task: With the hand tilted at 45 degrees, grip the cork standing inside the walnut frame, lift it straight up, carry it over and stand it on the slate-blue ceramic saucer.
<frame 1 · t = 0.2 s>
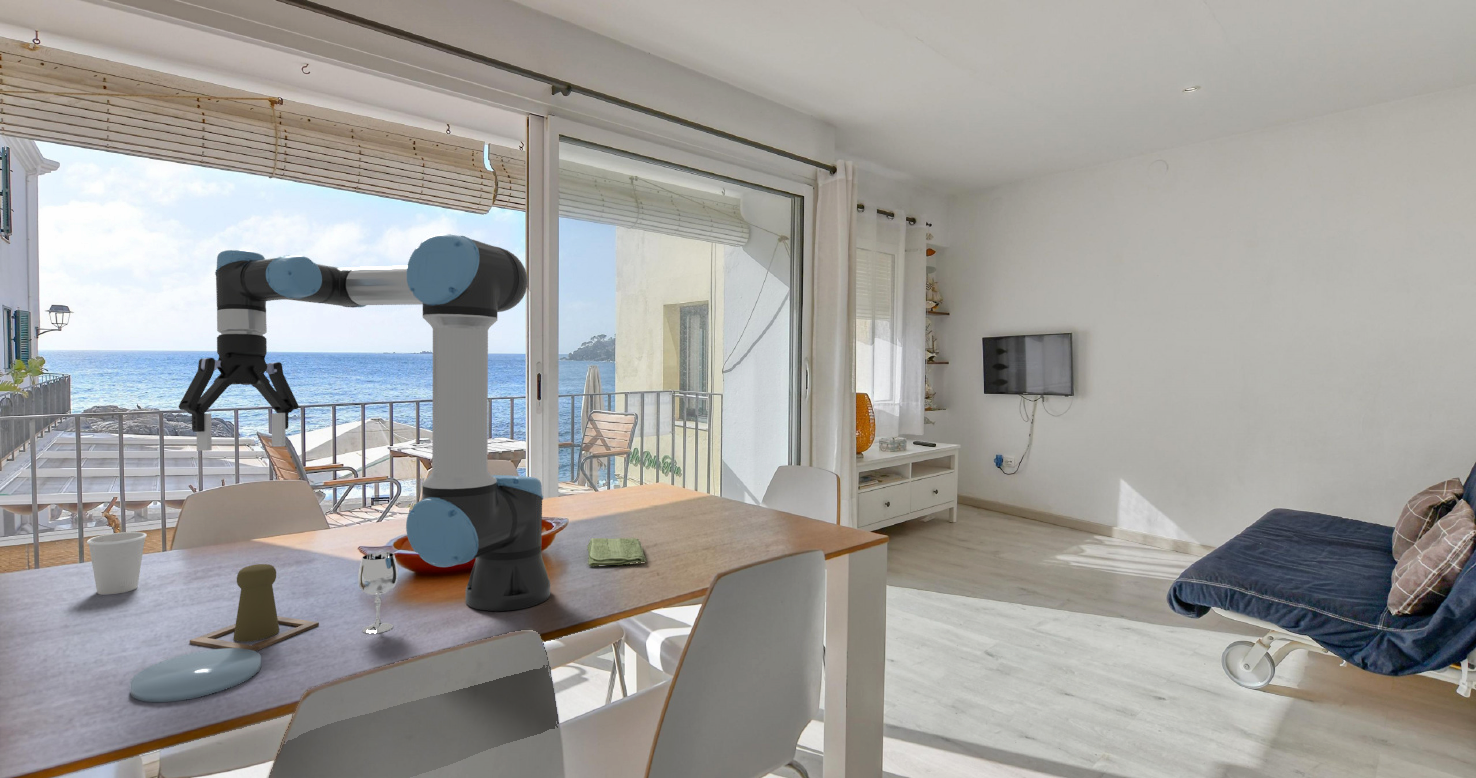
hand: (243, 448, 127), 27 cm above the table, tool pointing down, fingers open, 13 cm apart
walnut frame: (256, 633, 109), on the table
wineglass: (377, 629, 112), on the table
washcloth: (615, 559, 159), on the table
saucer: (198, 677, 94), on the table
dixie cup: (117, 590, 129), on the table
cork: (256, 635, 109), resting in walnut frame
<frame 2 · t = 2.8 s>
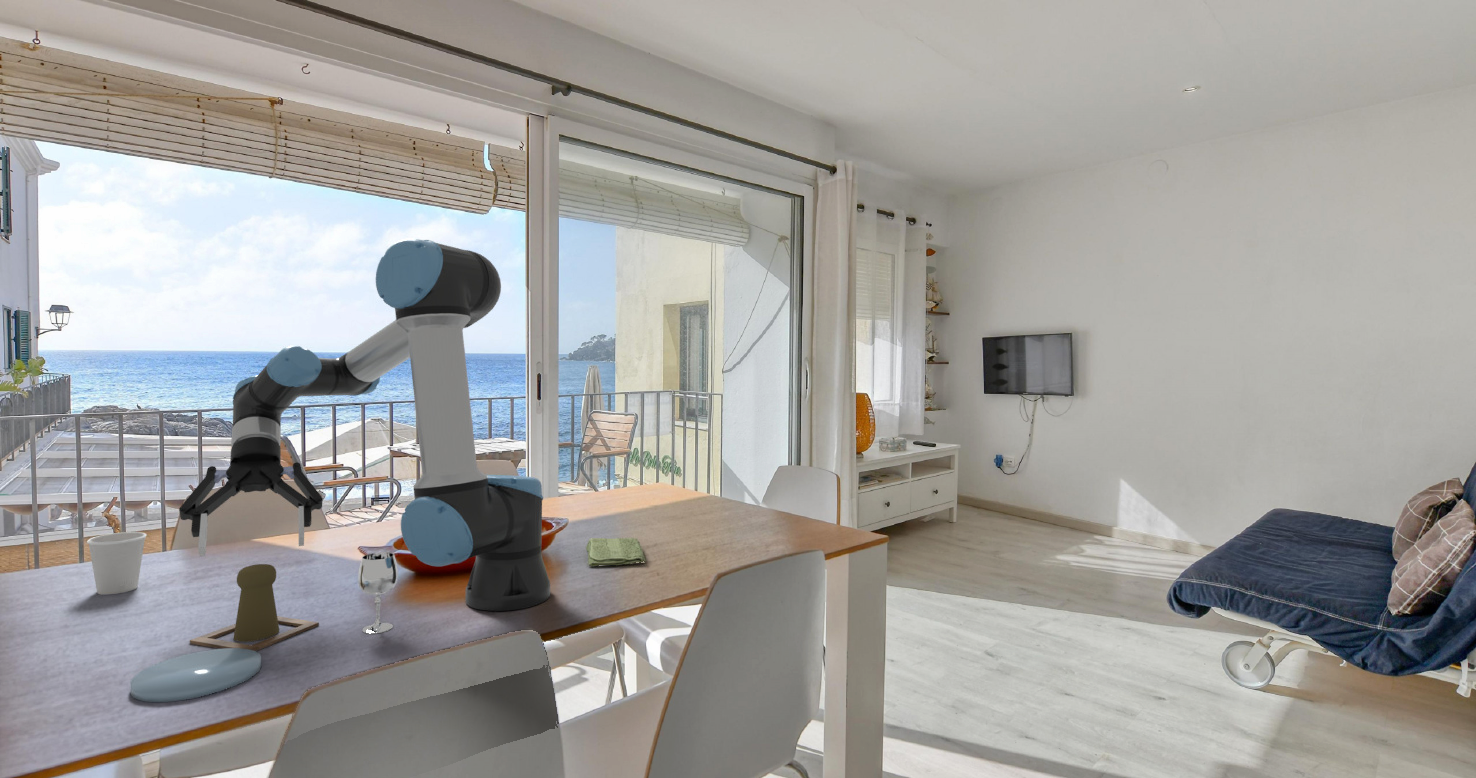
hand: (253, 546, 115), 12 cm above the table, tool tilted 45°, fingers open, 13 cm apart
nothing on the table moved.
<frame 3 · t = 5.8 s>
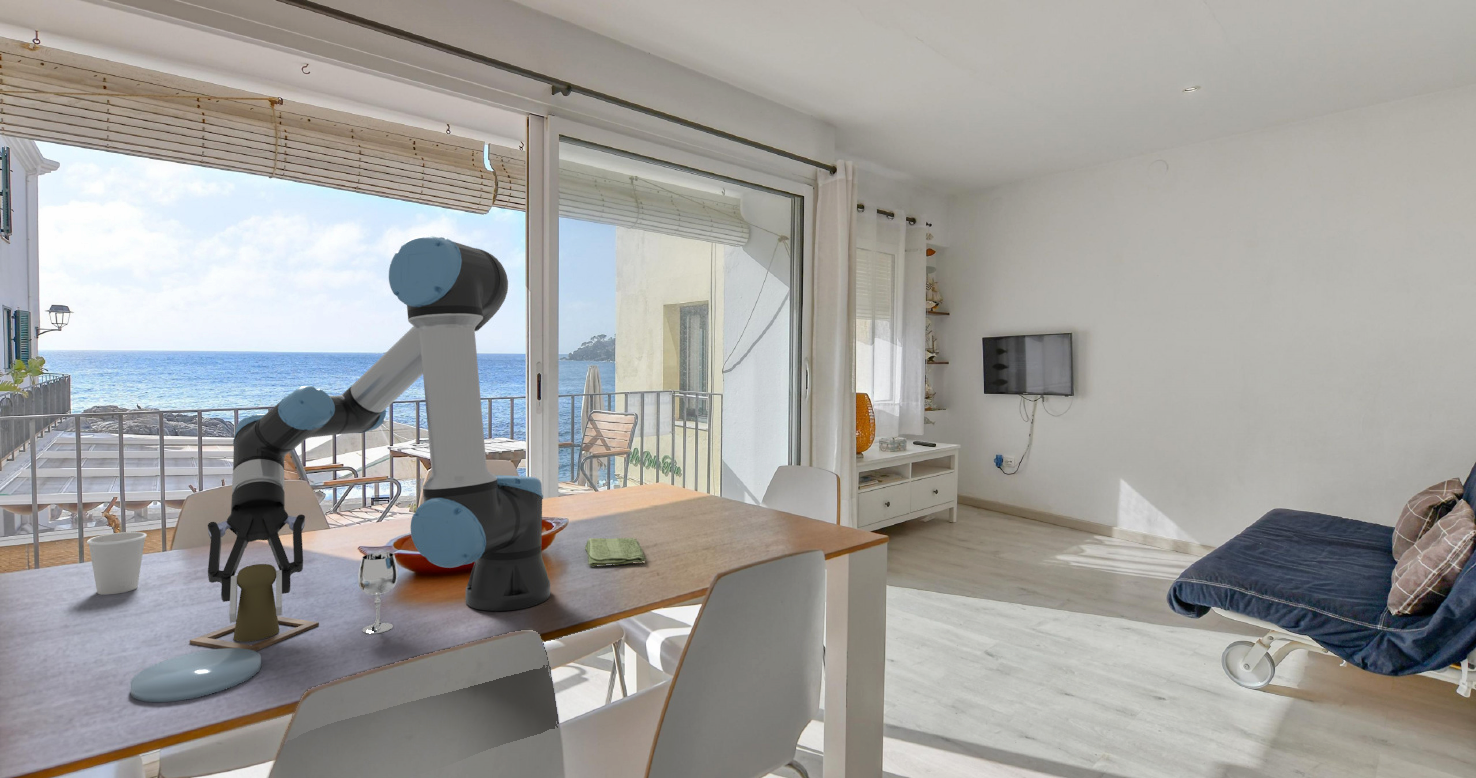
hand: (256, 614, 106), 4 cm above the table, tool tilted 45°, fingers closed on cork, 5 cm apart
cork: (256, 635, 109), resting in walnut frame, touching gripper
everything else where it was.
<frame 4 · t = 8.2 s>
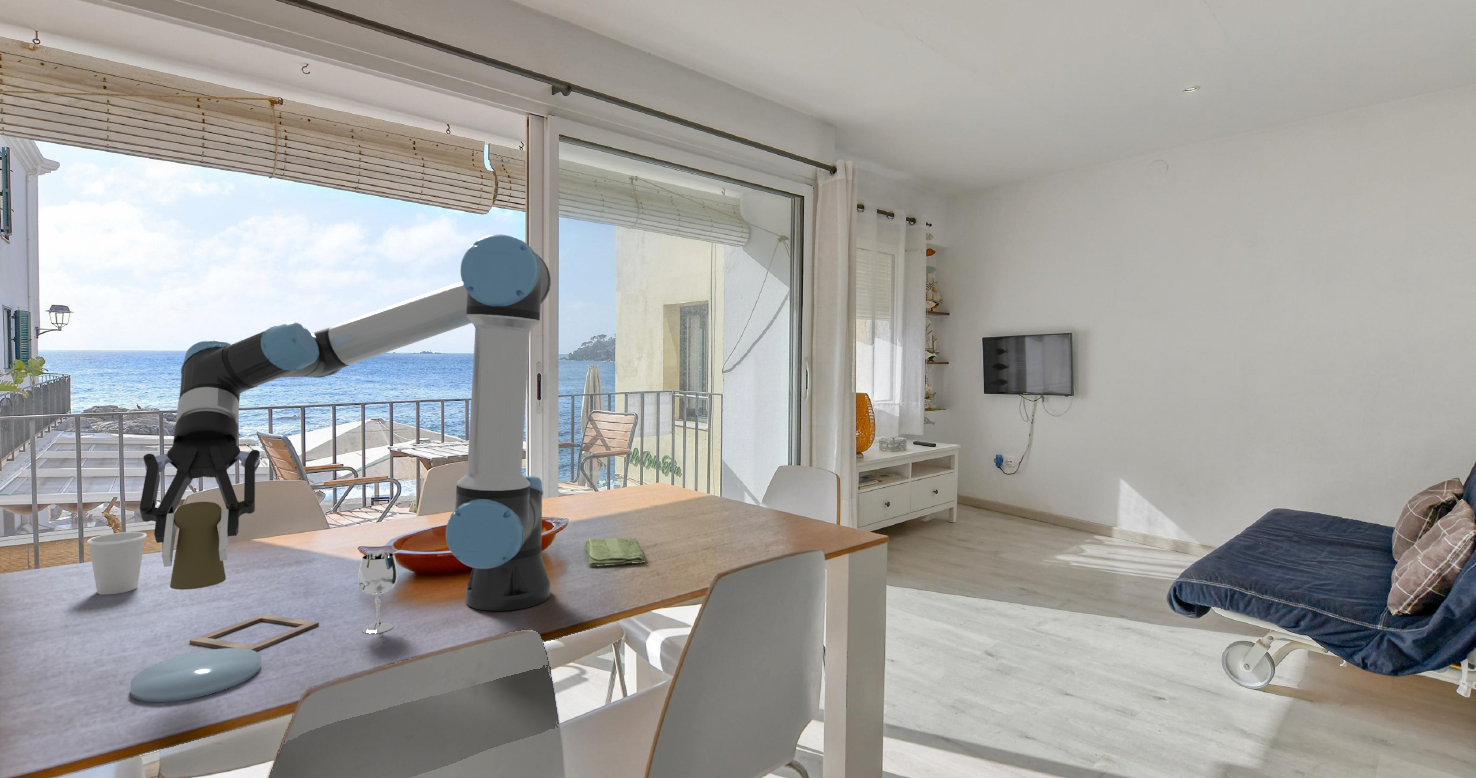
hand: (195, 557, 91), 17 cm above the table, tool tilted 45°, fingers closed on cork, 5 cm apart
cork: (198, 583, 94), point 13 cm above the table, touching gripper
everything else where it was.
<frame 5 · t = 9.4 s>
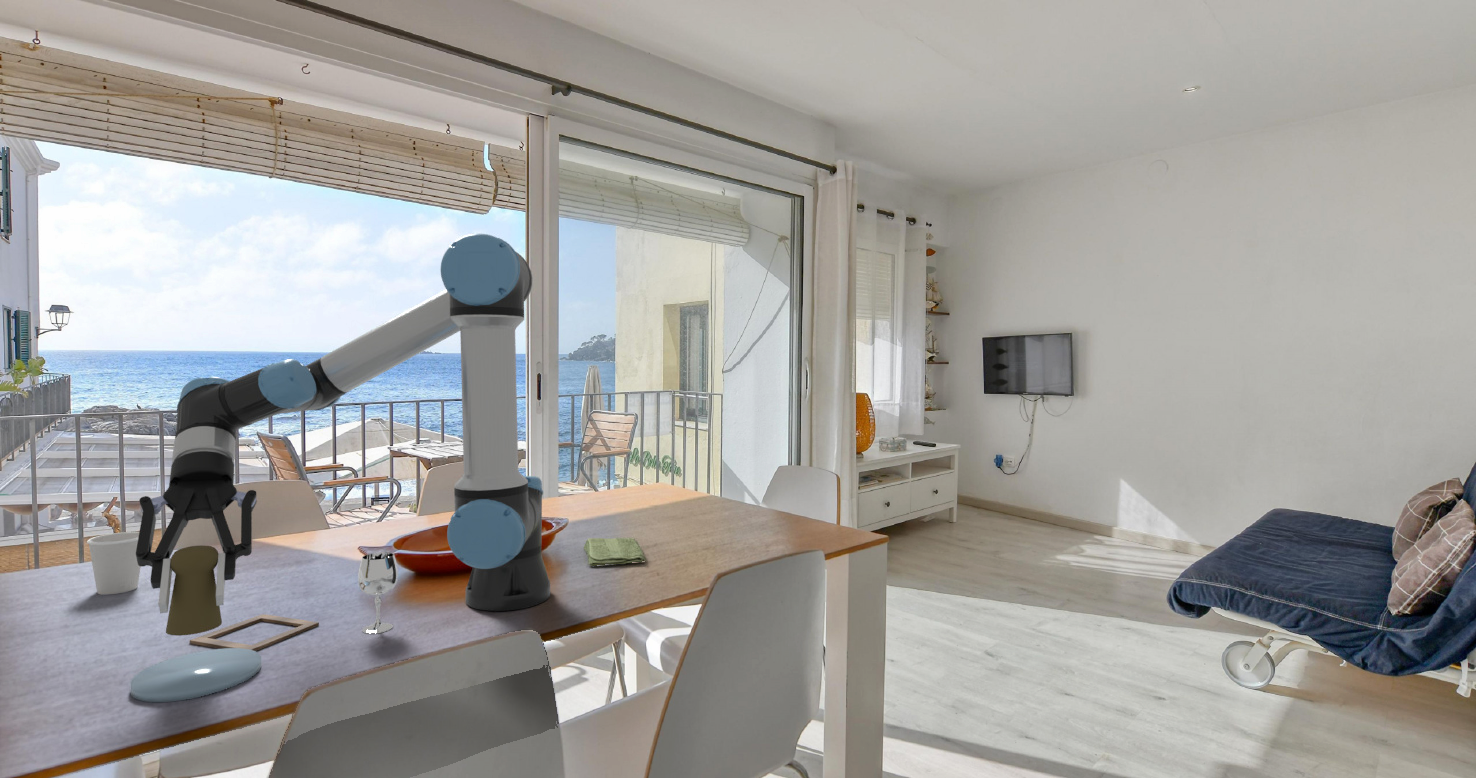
hand: (191, 603, 90), 11 cm above the table, tool tilted 45°, fingers closed on cork, 5 cm apart
cork: (194, 628, 94), point 7 cm above the table, touching gripper
everything else where it was.
when the fingers open (6 cm above the table, at t = 10.6 s): cork stays where it is, resting on saucer.
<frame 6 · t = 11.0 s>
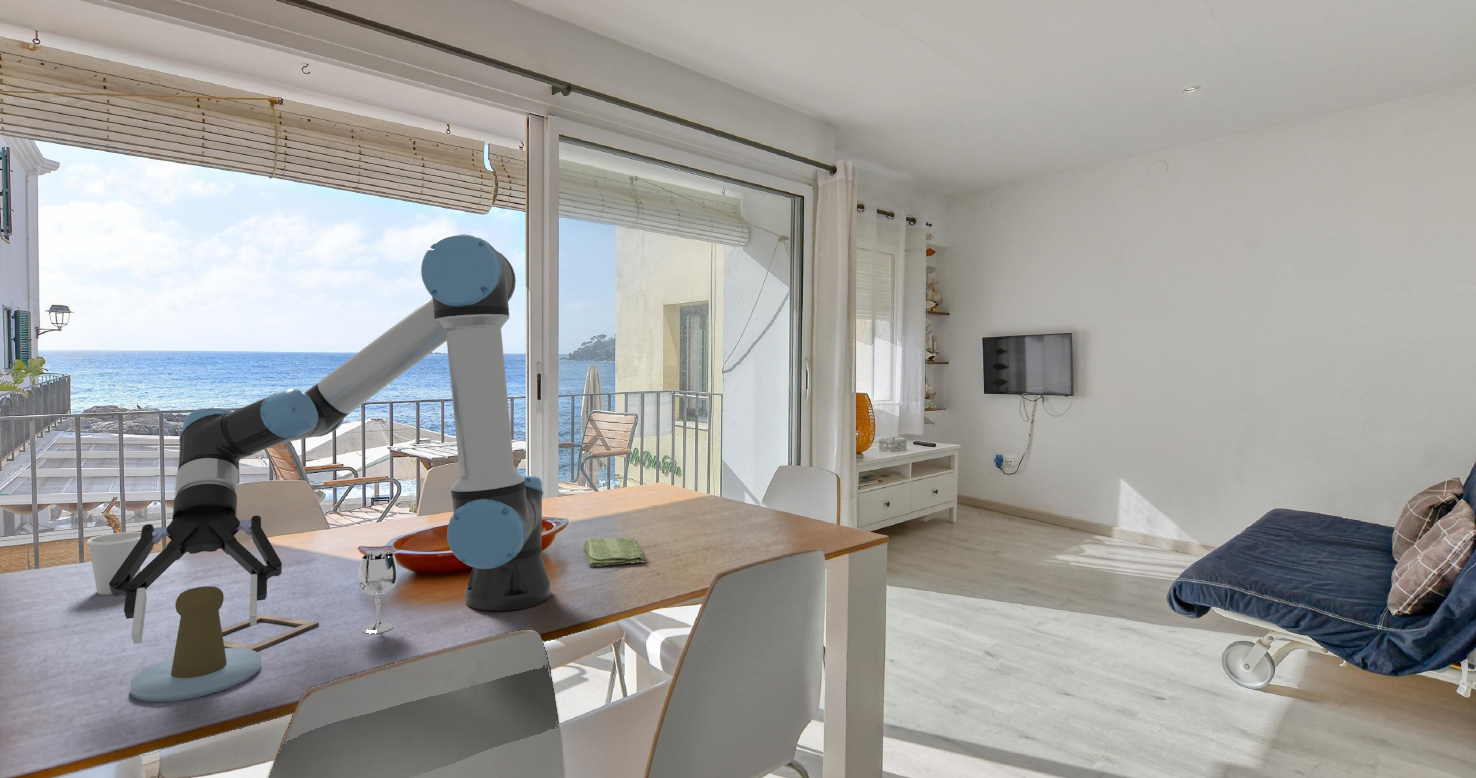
hand: (196, 629, 91), 8 cm above the table, tool tilted 45°, fingers open, 11 cm apart
cork: (199, 669, 94), point 1 cm above the table, touching saucer
everything else where it was.
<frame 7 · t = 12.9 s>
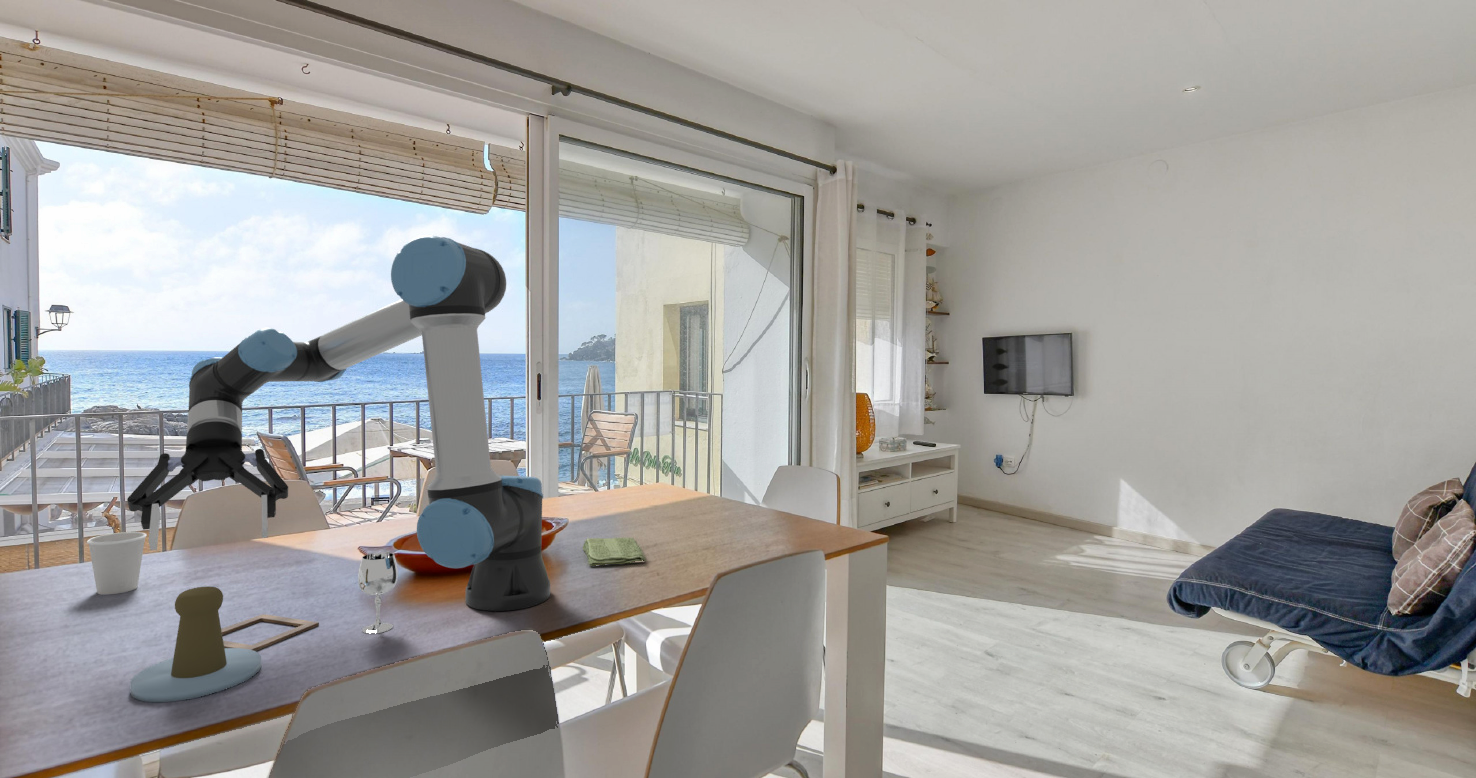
hand: (210, 539, 105), 16 cm above the table, tool tilted 45°, fingers open, 13 cm apart
nothing on the table moved.
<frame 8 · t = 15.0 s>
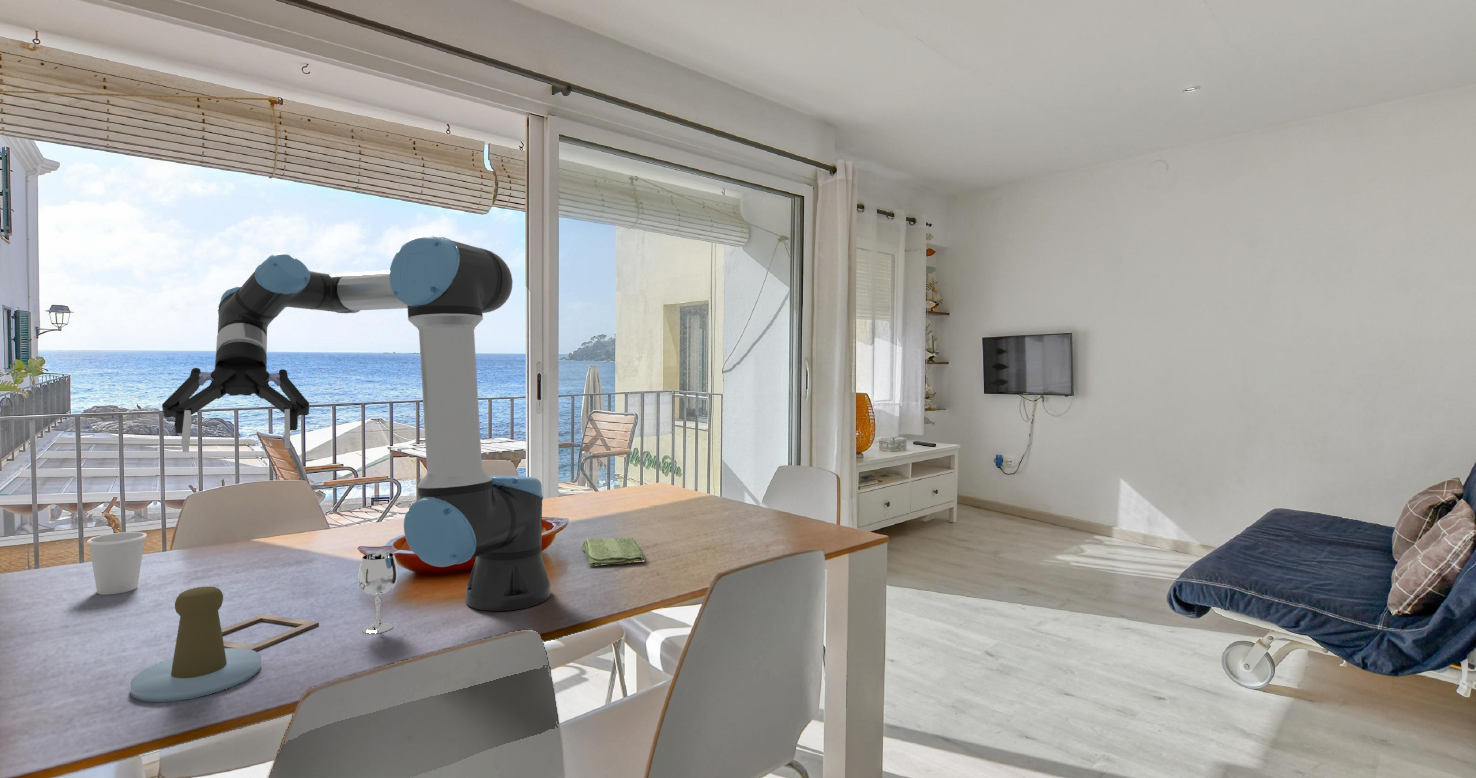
hand: (237, 444, 113), 30 cm above the table, tool tilted 45°, fingers open, 13 cm apart
nothing on the table moved.
at the end: cork 0.1 cm from the saucer (horizontally); cork tilted 0°; cork touching saucer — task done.
